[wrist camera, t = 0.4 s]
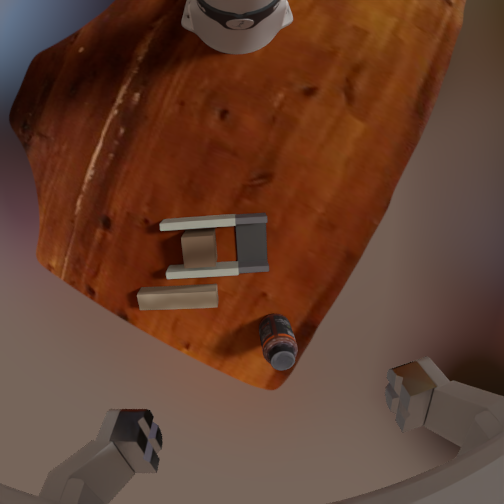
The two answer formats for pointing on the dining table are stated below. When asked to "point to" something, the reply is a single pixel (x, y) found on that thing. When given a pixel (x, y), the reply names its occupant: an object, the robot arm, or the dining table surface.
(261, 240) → the channel
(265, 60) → the dining table surface
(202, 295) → the rod
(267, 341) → the supplement bottle
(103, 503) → the robot arm
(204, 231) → the block
